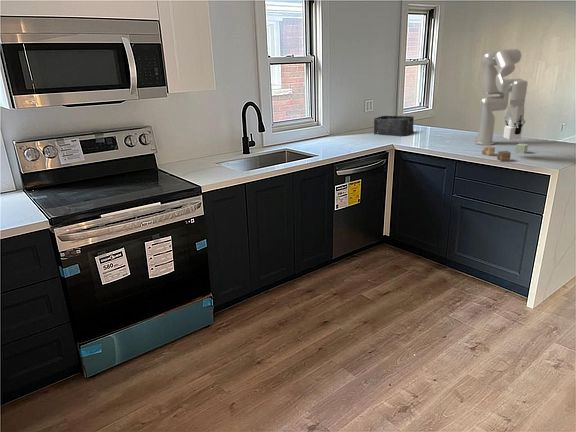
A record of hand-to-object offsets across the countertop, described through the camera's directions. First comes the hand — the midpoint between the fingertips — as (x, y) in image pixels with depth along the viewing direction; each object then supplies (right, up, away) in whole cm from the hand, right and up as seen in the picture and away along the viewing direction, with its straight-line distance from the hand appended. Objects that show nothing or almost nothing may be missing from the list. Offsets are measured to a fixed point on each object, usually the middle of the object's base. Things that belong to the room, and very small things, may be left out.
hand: (512, 132), depth 251 cm
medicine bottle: (0, -3, +1) cm, 4 cm away
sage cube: (+12, -10, +13) cm, 20 cm away
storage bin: (-47, +19, +98) cm, 110 cm away
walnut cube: (-7, -17, -3) cm, 18 cm away
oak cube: (-9, -11, +12) cm, 19 cm away
